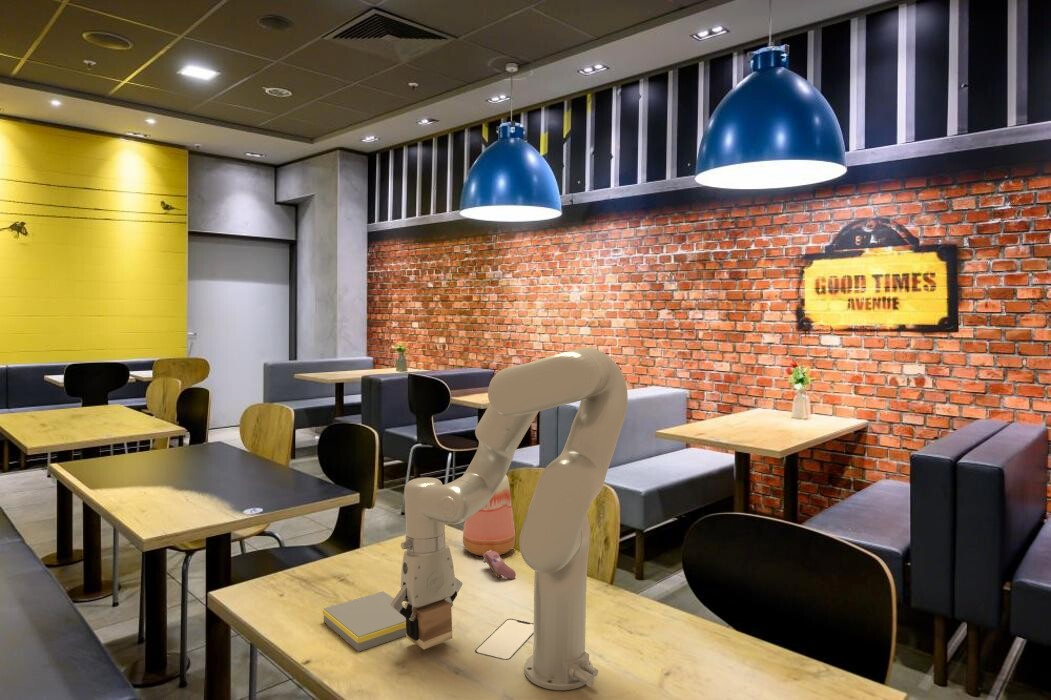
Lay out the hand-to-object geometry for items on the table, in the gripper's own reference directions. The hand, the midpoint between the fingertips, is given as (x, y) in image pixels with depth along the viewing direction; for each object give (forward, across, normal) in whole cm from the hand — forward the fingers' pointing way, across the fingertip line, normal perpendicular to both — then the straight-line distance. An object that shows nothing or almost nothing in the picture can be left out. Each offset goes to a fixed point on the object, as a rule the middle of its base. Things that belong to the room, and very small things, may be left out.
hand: (429, 631), depth 134 cm
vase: (+3, +41, +35) cm, 54 cm away
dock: (+3, -5, +15) cm, 16 cm away
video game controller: (+3, +33, +21) cm, 40 cm away
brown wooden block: (+1, 0, 0) cm, 1 cm away
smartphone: (+4, +14, -7) cm, 16 cm away
